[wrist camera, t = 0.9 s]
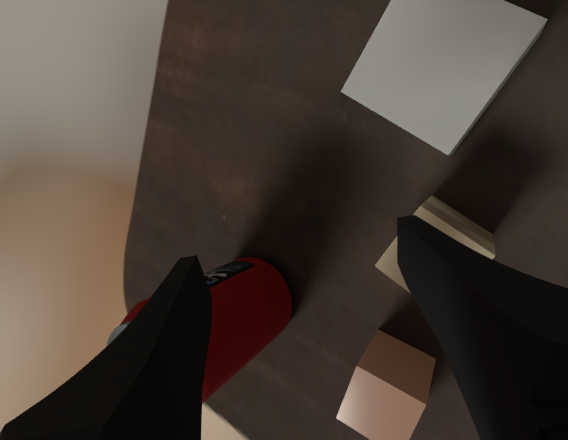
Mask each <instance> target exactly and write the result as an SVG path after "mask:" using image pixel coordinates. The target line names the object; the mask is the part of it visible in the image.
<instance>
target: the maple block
mask: <svg viewBox="0 0 568 440" xmlns="http://www.w3.org/2000/svg"><path fill="white" fill-rule="evenodd" d="M413 215H416V216H418V217H419V218H421V219H423V220H424V221H426V222H427V223H429V224H431V225H432V226H434V227H435V228H437V229H439V230H440V231H442V232H443V233H445V234H447V235H448V236H450V237H452V238H453V239H455V240H457V241H458V242H460V243H462V244H464V245H466V246H467V247H469V248H471V249H473V250H475V251H477V252H479V253H481V254H482V255H484V256H486V257H488V258H490V259H493V258H494V257H495V248H494V240H493V234H491V233H490V232H488V231H487V230H485V229H483V228H482V227H480V226H479V225H477V224H476V223H474V222H473V221H471V220H470V219H468V218H467V217H465V216H464V215H462V214H460V213H459V212H457V211H456V210H454V209H453V208H451V207H450V206H448V205H447V204H445V203H444V202H442V201H440V200H439V199H437V198H436V197H434V196H433V195H432V196H431V197H429V198H428V199H427V200H426V201H425V202H424V203H423V204H421V205H420V207H419V208H418V209H417V210H416V212H415V213H414V214H413ZM375 267H376V268H378V269H379V270H380V271H382V272H383V273H384V274H386V275H387V276H388V277H390V278H391V279H392V280H394V281H395V282H396V283H398V284H399V285H400V286H402V287H403V288H404V289H406V290H407V291H408V292H409V293H410V291H409V289H408V288H407V285H406V283H405V281H404V278H403V276H402V274H401V271H400V268H399V266H398V263H397V237H396V238H395V240H394V241H393V242H392V244H391V245H390V246H389V248H388V249H387V250H386V252H385V253H384V254H383V255H382V257H381V258H380V259H379V261H378V262H377V263H376V265H375Z"/></svg>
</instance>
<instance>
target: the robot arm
mask: <svg viewBox="0 0 568 440" xmlns="http://www.w3.org/2000/svg"><path fill="white" fill-rule="evenodd" d="M397 263H398V266H399V268H400V271H401V274H402V276H403V278H404V281H405V283H406V285H407V288H408V289H409V291H410V293H411V295H412V296H413V298H414V300H415V302H416V303H417V305H418V307H419V309H420V310H421V312H422V314H423V315H424V317H425V319H426V321H427V322H428V324H429V326H430V328H431V329H432V331H433V333H434V334H435V336H436V338H437V340H438V342H439V344H440V345H441V347H442V349H443V351H444V354H445V356H446V358H447V360H448V363H449V365H450V367H451V369H452V371H453V374H454V376H455V378H456V381H457V383H458V385H459V388H460V390H461V392H462V395H463V397H464V400H465V402H466V404H467V407H468V409H469V412H470V414H471V417H472V419H473V422H474V424H475V427H476V429H477V432H478V434H479V437H480V439H481V440H568V288H565V287H562V286H558V285H555V284H552V283H550V282H547V281H544V280H541V279H538V278H535V277H533V276H530V275H527V274H525V273H522V272H520V271H517V270H515V269H513V268H510V267H508V266H506V265H503V264H501V263H499V262H497V261H495V260H492V259H490V258H488V257H486V256H484V255H482V254H481V253H479V252H477V251H475V250H473V249H471V248H469V247H467V246H466V245H464V244H462V243H460V242H458V241H457V240H455V239H453V238H452V237H450V236H448V235H447V234H445V233H443V232H442V231H440V230H439V229H437V228H435V227H434V226H432V225H431V224H429V223H427V222H426V221H424V220H423V219H421V218H419V217H418V216H416V215H411V216H405V217H400V218H397ZM211 326H212V294H211V292H210V289H209V286H208V284H207V281H206V279H205V276H204V273H203V271H202V268H201V265H200V263H199V260H198V258H197V255H195V256H190V257H184V258H180V259H179V260H178V261H177V263H176V264H175V265H174V267H173V268H172V270H171V271H170V272H169V274H168V275H167V277H166V278H165V279H164V281H163V282H162V283H161V285H160V286H159V287H158V289H157V290H156V291H155V293H154V294H153V295H152V297H151V298H150V299H149V301H148V302H147V303H146V304H145V305H144V307H143V308H142V309H141V310H140V311H139V313H138V314H137V315H136V316H135V317H134V319H133V320H132V321H131V322H130V323H129V324H128V325H127V327H126V328H125V329H124V330H123V331H122V332H121V333H120V334H119V335H118V336H117V337H116V338H115V339H114V340H113V341H112V342H111V343H110V344H109V345H108V346H107V347H106V348H105V349H104V350H103V351H101V352H100V353H99V354H98V355H97V356H96V357H95V358H94V359H92V360H91V361H90V362H89V363H88V364H87V365H86V366H85V367H83V368H82V369H81V370H80V371H79V372H78V373H76V374H75V375H74V376H73V377H71V378H70V379H69V380H68V381H66V382H65V383H64V384H63V385H61V386H60V387H58V388H57V389H56V390H55V391H53V392H52V393H51V394H49V395H48V396H47V397H45V398H44V399H42V400H41V401H40V402H38V403H37V404H35V405H34V406H32V407H31V408H29V409H28V410H26V411H25V412H23V413H22V414H20V415H19V416H17V417H16V418H15V419H13V420H12V421H10V422H9V423H7V424H6V425H5V426H4V427H3V429H2V431H1V432H0V440H201V414H202V392H203V382H204V375H205V368H206V361H207V354H208V348H209V341H210V334H211Z"/></svg>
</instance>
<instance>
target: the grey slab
mask: <svg viewBox="0 0 568 440" xmlns="http://www.w3.org/2000/svg"><path fill="white" fill-rule="evenodd" d="M547 20H548V19H546V18H544V17H542V16H539V15H537V14H534V13H532V12H530V11H527V10H525V9H523V8H520V7H518V6H516V5H513V4H511V3H509V2H506V1H504V0H391V2H390V3H389V5H388V7H387V9H386V11H385V12H384V14H383V16H382V18H381V20H380V21H379V23H378V25H377V27H376V29H375V31H374V32H373V34H372V36H371V38H370V40H369V41H368V43H367V45H366V47H365V49H364V50H363V52H362V54H361V56H360V58H359V60H358V61H357V63H356V65H355V67H354V69H353V70H352V72H351V74H350V76H349V78H348V79H347V81H346V83H345V85H344V87H343V89H342V90H341V92H342V93H344V94H346V95H347V96H349V97H351V98H352V99H354V100H356V101H357V102H359V103H361V104H362V105H364V106H366V107H367V108H369V109H371V110H373V111H374V112H376V113H378V114H379V115H381V116H383V117H384V118H386V119H388V120H389V121H391V122H393V123H394V124H396V125H398V126H400V127H401V128H403V129H405V130H406V131H408V132H410V133H411V134H413V135H415V136H416V137H418V138H420V139H421V140H423V141H425V142H427V143H428V144H430V145H432V146H433V147H435V148H437V149H438V150H440V151H442V152H443V153H445V154H447V155H453V153H454V152H455V151H456V149H457V148H458V146H459V145H460V144H461V142H462V141H463V140H464V138H465V137H466V136H467V134H468V133H469V131H470V130H471V129H472V127H473V126H474V125H475V123H476V122H477V121H478V119H479V118H480V117H481V115H482V114H483V112H484V111H485V110H486V108H487V107H488V106H489V104H490V103H491V102H492V100H493V99H494V97H495V96H496V95H497V93H498V92H499V91H500V89H501V88H502V87H503V85H504V84H505V82H506V81H507V80H508V78H509V77H510V76H511V74H512V73H513V72H514V70H515V69H516V68H517V66H518V65H519V63H520V62H521V61H522V59H523V58H524V57H525V55H526V54H527V53H528V51H529V50H530V48H531V47H532V46H533V44H534V43H535V42H536V40H537V39H538V38H539V36H540V34H541V32H542V30H543V28H544V26H545V24H546V22H547Z"/></svg>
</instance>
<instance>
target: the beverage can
mask: <svg viewBox="0 0 568 440" xmlns="http://www.w3.org/2000/svg"><path fill="white" fill-rule="evenodd" d="M204 276H205V279H206V281H207V284H208V286H209V289H210V292H211V294H212V326H211V334H210V341H209V348H208V354H207V361H206V368H205V375H204V382H203V392H202V403H203V402H204V401H205V400H207V399H208V398H209V397H210V396H211V395H212V394H213V393H215V392H216V391H217V390H218V389H219V388H220V387H221V386H223V385H224V384H225V383H226V382H227V381H228V380H229V379H231V378H232V377H233V376H234V375H235V374H236V373H237V372H238V371H239V370H240V369H242V368H243V367H244V366H245V365H246V364H247V363H248V362H249V361H250V360H252V359H253V358H254V357H255V356H256V355H257V354H258V353H259V352H260V351H262V350H263V349H264V348H265V347H266V346H267V345H268V344H269V343H270V342H271V341H272V340H273V339H274V338H275V337H277V336H278V335H279V334H280V333H281V332H282V331H283V330H284V329H285V327H286V326H287V324H288V322H289V320H290V317H291V312H292V300H291V295H290V291H289V288H288V286H287V284H286V282H285V280H284V279H283V277H282V276H281V274H280V273H279V272H278V271H277V270H276V269H275V268H274V267H273V266H272V265H270V264H269V263H267V262H265V261H263V260H261V259H258V258H253V257H245V258H240V259H237V260H235V261H233V262H230V263H228V264H225V265H223V266H221V267H218V268H216V269H214V270H211V271H209V272H207V273H204ZM150 298H151V297H150ZM150 298H148V299H146V300H144V301H142V302H140V303H138V304H136V305H135V306H134V307H133V308H132V309H131V310H130V311H129V313H128V314H127V316H126V317H125V318H124V320H123V321H122V323H121V324H120V325H119V326H118V327H116V328H115V329H114V330H113V331H112V333H111V334H110V336H109V339H108V342H107V346H108V345H109V344H110V343H111V342H112V341H113V340H114V339H115V338H116V337H117V336H118V335H119V334H120V333H121V332H122V331H123V330H124V329H125V328H126V327H127V325H128V324H129V323H130V322H131V321H132V320H133V319H134V317H135V316H136V315H137V314H138V313H139V311H140V310H141V309H142V308H143V307H144V305H145V304H146V303H147V302H148V301H149V299H150Z"/></svg>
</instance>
